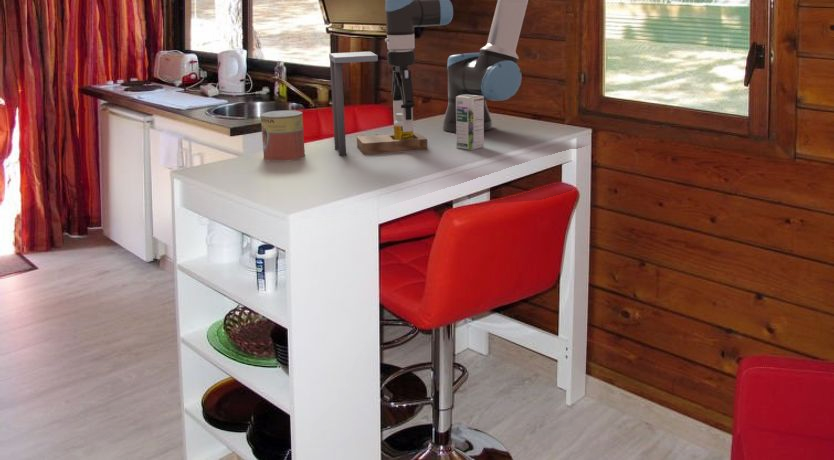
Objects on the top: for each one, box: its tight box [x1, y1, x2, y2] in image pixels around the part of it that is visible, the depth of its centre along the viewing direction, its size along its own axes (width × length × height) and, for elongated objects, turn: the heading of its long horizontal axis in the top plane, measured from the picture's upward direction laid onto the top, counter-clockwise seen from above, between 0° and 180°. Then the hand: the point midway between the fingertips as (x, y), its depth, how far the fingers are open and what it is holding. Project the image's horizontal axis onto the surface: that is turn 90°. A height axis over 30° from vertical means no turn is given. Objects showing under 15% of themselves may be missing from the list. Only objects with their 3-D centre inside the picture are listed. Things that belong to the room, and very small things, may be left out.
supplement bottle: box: [393, 113, 414, 140], centre depth 260 cm, size 5×5×10 cm
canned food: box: [260, 109, 306, 163], centre depth 251 cm, size 11×11×12 cm
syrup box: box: [455, 95, 485, 151], centre depth 256 cm, size 6×6×14 cm
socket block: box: [356, 132, 428, 155], centre depth 260 cm, size 18×11×3 cm, turn 102°
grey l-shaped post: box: [328, 51, 379, 157], centre depth 255 cm, size 12×12×26 cm
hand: (403, 127), depth 259 cm, fingers open, 13 cm apart
